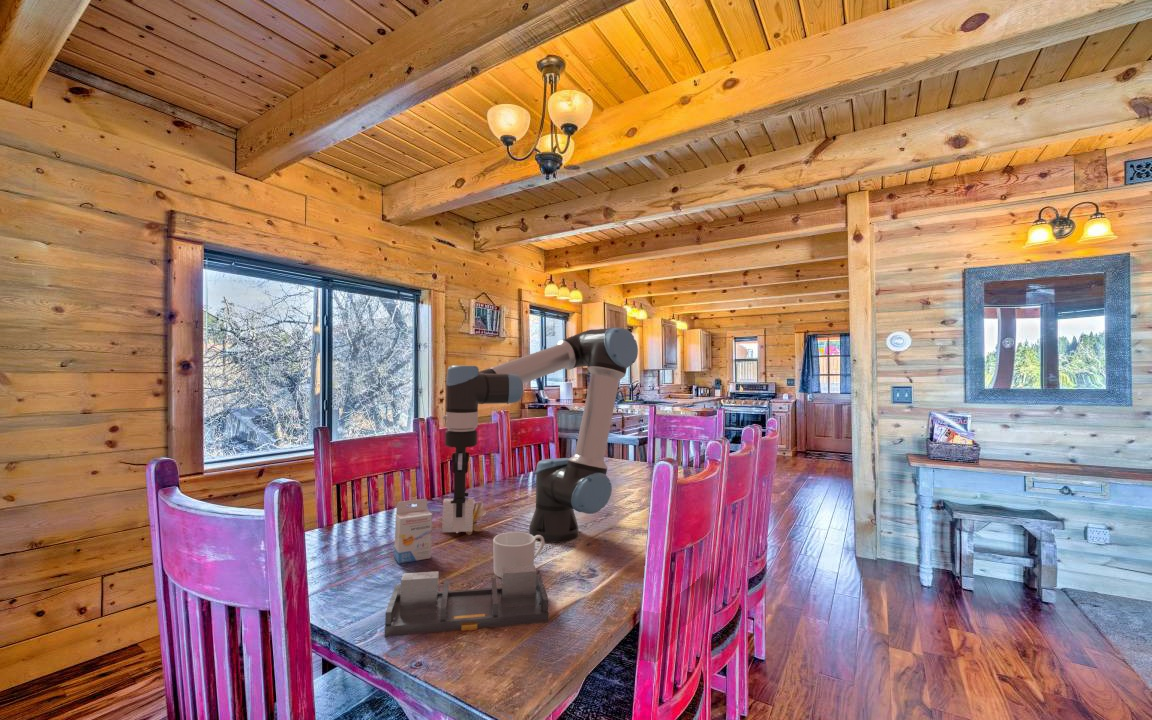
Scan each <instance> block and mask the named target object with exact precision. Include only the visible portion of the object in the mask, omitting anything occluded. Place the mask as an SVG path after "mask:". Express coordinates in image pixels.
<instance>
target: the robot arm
mask: <svg viewBox="0 0 1152 720" xmlns="http://www.w3.org/2000/svg"><path fill="white" fill-rule="evenodd" d="M638 355H639V349H638V343H637V340H636V339H635V337H634V335H633V333H632V332H630V331H629V330H628V329H626V328H623V327H614V326H612V327H607V328H598V329H589V330H585V331H582V332H579V333H577V334H574V335H572V336H569V337H566V338H565V339H561V340H558V341H557V343H556V345H554V346H550V347H548V348H545V349H542V350H541V349H540V350H539V351H536V352H532V353H530V354H528V355H525V356H521V357H518V358H514V359H513V360H509V361H507V362H503V363H501V364H498V365H494V366H492V367H490V368H486V369H483V370H480V369H479V367H478V366H477V365H457V364H456V365H450V366H449V367H448V368H447V373H446V380H445V381H446V382H445V399H446V401H445V406H446V407H445V414H446V415H443V417H442V419H443V420H446V421H445V429H447V430H445V431H444V432H445V434H444V444H445V446H446V447H447V448H454V449H455V452H452V455H451V462H452V473H453V474H454V477H453V480H454V481H453V498H452V499H453V501H451V504H452V503H453V531H461V530H465V498H469V492H466V491H467V488H466V481H467V480H466V476H467V475H466V474H467V473H468V470H469V468H468V467H469V462H470V452H467V448H474V447H475V446H477V445H478V431H477V429H476V428H478V422H479V421H478V418H479V410H478V409H479V405H484V404H485V405H486V404H487V405H489V404H490V405H491V404H492V405H493V404H507V405H508V404H516V403H518V402H520V401H521V399H522V397H523V394H524V384H526V383H528V382H532V381H534V380H537V379H541V378H542V377H545V376H548V375H550V374H553V373H555V372H558V371H561V370H564V369H565V370H568V371H569V370H573V369H576V368H580V367H581V368H583V367H587V368H586V369H587V371H588V372H589V374H590V378H589V382H588V388H587V393H586V397H585V402H584V408H583V413H582V418H581V422H580V427H579V433H578V437H577V441H576V447H575V451H574V454H573V455H572V456H571V457H562V458H561V457H560V458H559V457H556V458H546V459H541V460H539V461H538V462H537V464H536V470H535V475H536V476H535V477H536V478H535V509H534V512H533V516H532V519H531V520H530V524H529V533H528V534H531V535H533V536H536V535H541V536H542V537H543V538H544V543H545V542H547V543H561V542H568V541H571V540H574V539H576V538H577V537H578V536H579V524H578V521H577V517H576V514H575V512H574V511H576V512H578V513H584V514H587V515H591V514H592V515H593V514H596V513H599V512H600V511H601V510H602V509H603V508H605V507H606V505H607V504H608V502H609V501H610V498H611V495H612V489H613V486H612V483H611V479H610V478H609V476H607V473H608V472H607V471H608V466H607V465H606V463H605V455H606V451H607V445H608V440H609V434H610V430H611V425H612V420H613V413H614V409H615V403H616V400H617V399H616V398H617V394H618V389H619V383H620V381H621V380H622V379H623V378H625V377H626V374H627V371H628V370H627V369H628V367H629V368H630V367H631V366H633V364H635V362H636V361H637V358H638ZM536 540H537V541H540V542H541V539H540V538H538V539H536ZM536 540H535V541H536Z"/></svg>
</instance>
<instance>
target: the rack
mask: <svg viewBox="0 0 1152 720" xmlns="http://www.w3.org/2000/svg"><path fill="white" fill-rule="evenodd" d="M536 568H537V567H536V566H535V565H530V566H514V567H502V578H501V584H500V587H499V586H498V587H497V578H496V577H491V578H490V579H491V580H490V587H485V588H474V589H473V588H472V589H471V588H470V589H459V590H450V580H444V582H443V589H442V591H439V578H440V577H439V575H440V573H439V571H423V572H421V571H420V572H407V573H402V575H401V579H400V583H397V584H395V586H394V588H393V591H392V593H391V597H390V600H389V602H388V605H387V607H386V610H385V621H384V622H385V623H384V635H383V637H394V636H395V637H396V636H405V635H406V636H407V635H416V634H418V635H419V634H428V633H429V634H430V633H438V632H439V633H441V632H450V631H451V632H452V631H462V632H464V631H473V630H475V631H476V630H478V629H484V628H497V627H507V626H518V625H519V626H520V625H529V624H530V625H531V624H541V623H549V620H550V619H549V616H550V615H549V614H550V613H549V597H548V593H547V590H546V588H545V584H544V581H543V578H542V576H541V575H542V574H537V569H536Z"/></svg>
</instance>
